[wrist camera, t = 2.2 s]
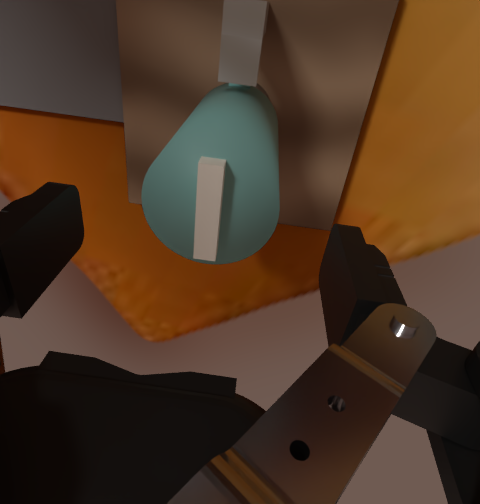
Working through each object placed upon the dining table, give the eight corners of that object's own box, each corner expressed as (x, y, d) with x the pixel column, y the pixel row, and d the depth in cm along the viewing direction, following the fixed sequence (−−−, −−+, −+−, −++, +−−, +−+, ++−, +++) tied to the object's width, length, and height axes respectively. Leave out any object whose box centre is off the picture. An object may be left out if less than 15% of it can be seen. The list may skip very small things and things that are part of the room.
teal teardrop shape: (198, 35, 18) (128, 62, 10) (292, 48, 18) (306, 87, 10) (191, 190, 23) (140, 302, 15) (265, 201, 23) (260, 318, 15)
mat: (-55, -84, 21) (-63, -86, 20) (119, -60, 21) (115, -61, 20) (-8, 101, 26) (-13, 103, 26) (129, 120, 26) (127, 122, 26)
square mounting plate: (119, -60, 21) (46, -90, 14) (399, -21, 21) (457, -33, 14) (133, 195, 30) (93, 250, 23) (328, 223, 30) (343, 285, 23)
